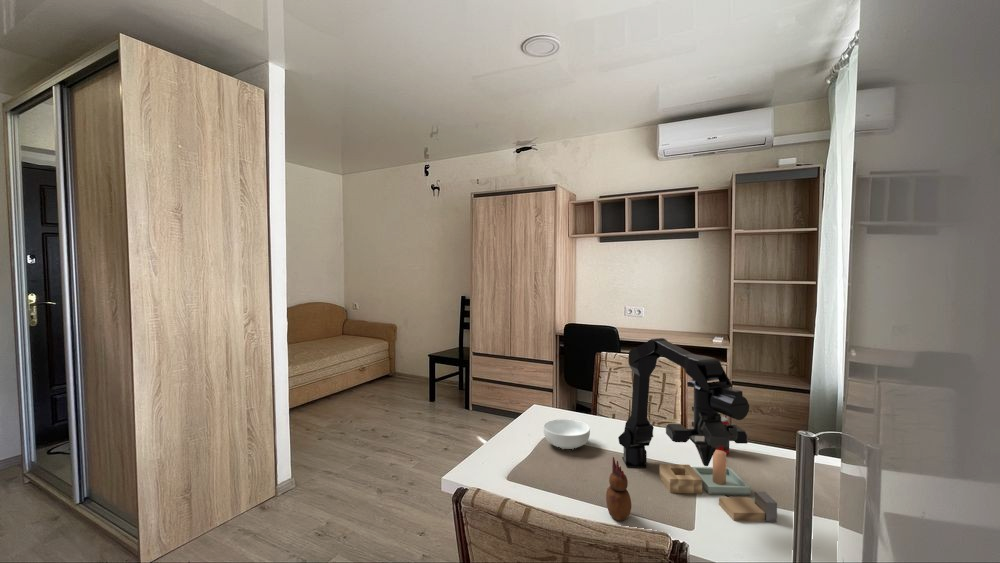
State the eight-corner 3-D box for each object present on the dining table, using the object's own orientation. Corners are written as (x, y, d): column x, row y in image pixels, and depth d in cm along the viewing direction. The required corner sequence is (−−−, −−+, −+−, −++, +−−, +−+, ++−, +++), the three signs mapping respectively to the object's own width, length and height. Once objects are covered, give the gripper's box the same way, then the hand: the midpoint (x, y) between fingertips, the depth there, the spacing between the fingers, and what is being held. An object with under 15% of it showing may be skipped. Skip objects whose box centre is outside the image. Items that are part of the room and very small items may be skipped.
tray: (708, 494, 114) (708, 486, 114) (691, 473, 126) (691, 466, 126) (750, 495, 114) (750, 487, 114) (729, 474, 125) (729, 467, 125)
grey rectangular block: (766, 521, 102) (766, 502, 102) (754, 510, 107) (755, 491, 107) (776, 522, 101) (776, 502, 101) (764, 510, 106) (765, 491, 106)
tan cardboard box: (733, 522, 102) (733, 512, 102) (718, 506, 109) (718, 497, 109) (764, 522, 102) (765, 512, 102) (748, 506, 109) (748, 497, 109)
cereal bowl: (596, 442, 150) (596, 423, 150) (580, 460, 136) (580, 439, 136) (554, 432, 159) (554, 415, 159) (535, 448, 145) (535, 429, 145)
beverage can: (732, 456, 137) (732, 422, 137) (711, 455, 139) (711, 421, 138) (725, 448, 144) (725, 415, 143) (705, 446, 145) (705, 414, 145)
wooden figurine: (603, 509, 108) (603, 454, 107) (623, 508, 108) (623, 453, 108) (612, 525, 101) (612, 466, 100) (634, 523, 101) (634, 465, 101)
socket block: (670, 492, 115) (670, 479, 115) (659, 476, 124) (659, 464, 124) (702, 493, 115) (702, 479, 115) (689, 477, 124) (689, 464, 124)
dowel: (725, 486, 117) (726, 456, 117) (712, 482, 119) (712, 453, 119) (726, 480, 120) (726, 451, 120) (713, 477, 122) (713, 448, 122)
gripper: (681, 417, 97) (681, 480, 97) (761, 418, 96) (760, 482, 96) (665, 402, 108) (665, 459, 108) (736, 403, 107) (736, 460, 107)
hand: (705, 465), depth 105 cm, fingers closed
